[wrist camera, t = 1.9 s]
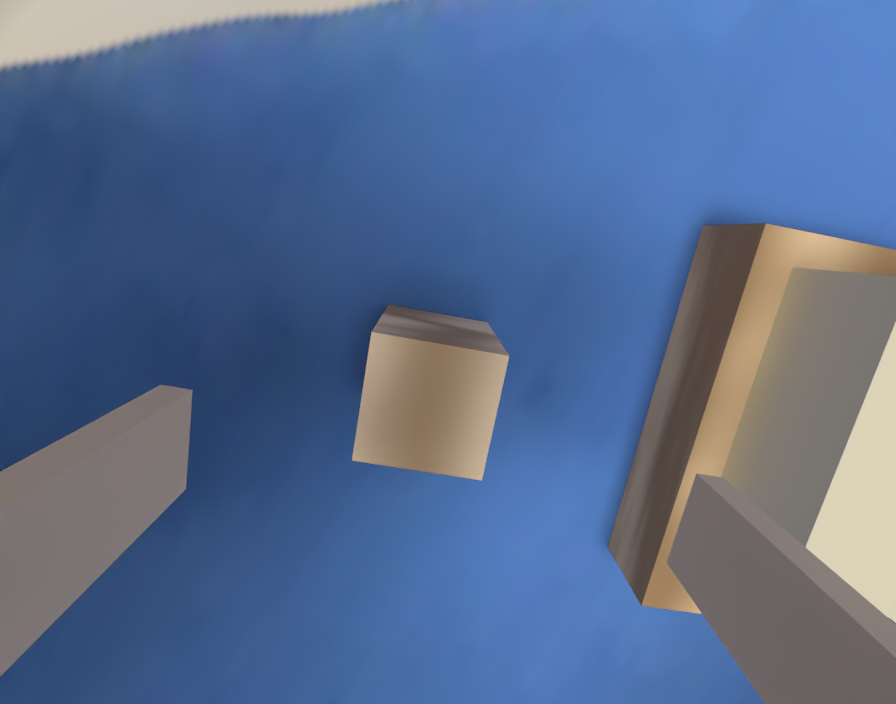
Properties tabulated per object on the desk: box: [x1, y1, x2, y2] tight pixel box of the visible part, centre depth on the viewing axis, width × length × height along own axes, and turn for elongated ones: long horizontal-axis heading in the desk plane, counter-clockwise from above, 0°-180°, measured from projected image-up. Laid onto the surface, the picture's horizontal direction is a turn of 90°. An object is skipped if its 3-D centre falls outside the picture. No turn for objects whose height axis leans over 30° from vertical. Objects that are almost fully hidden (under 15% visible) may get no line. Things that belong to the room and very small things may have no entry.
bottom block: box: [608, 223, 896, 614], centre depth 24 cm, size 12×18×5 cm, turn 169°
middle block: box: [721, 267, 896, 623], centre depth 19 cm, size 9×15×5 cm, turn 169°
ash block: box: [352, 305, 509, 480], centre depth 21 cm, size 5×5×7 cm
